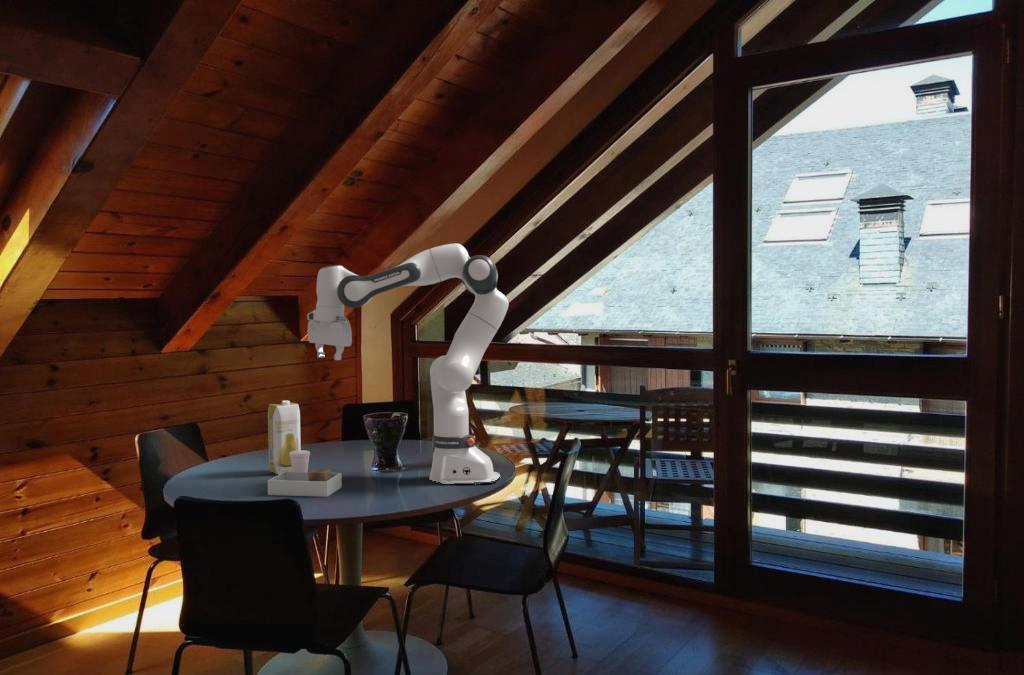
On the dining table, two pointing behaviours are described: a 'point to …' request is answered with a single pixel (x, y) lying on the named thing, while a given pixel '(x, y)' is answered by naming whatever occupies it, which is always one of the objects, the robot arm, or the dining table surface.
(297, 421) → the juice carton
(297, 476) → the crate
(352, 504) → the dining table surface
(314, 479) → the walnut block
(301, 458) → the smoothie
